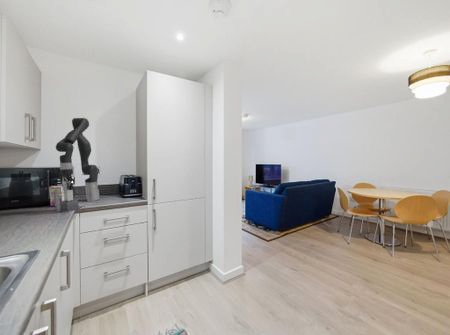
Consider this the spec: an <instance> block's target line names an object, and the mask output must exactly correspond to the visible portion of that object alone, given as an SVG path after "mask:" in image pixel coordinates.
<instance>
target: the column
mask: <svg viewBox="0 0 450 335" xmlns="http://www.w3.org/2000/svg"><path fill="white" fill-rule="evenodd" d="M62 182H63V184H61V186H63V190H64V192H63V193H64V201H71V200H73V199H74V191H73V190H74V189H73V190H69V184H68V183H67V181H62ZM70 184H71V183H70Z"/></svg>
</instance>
